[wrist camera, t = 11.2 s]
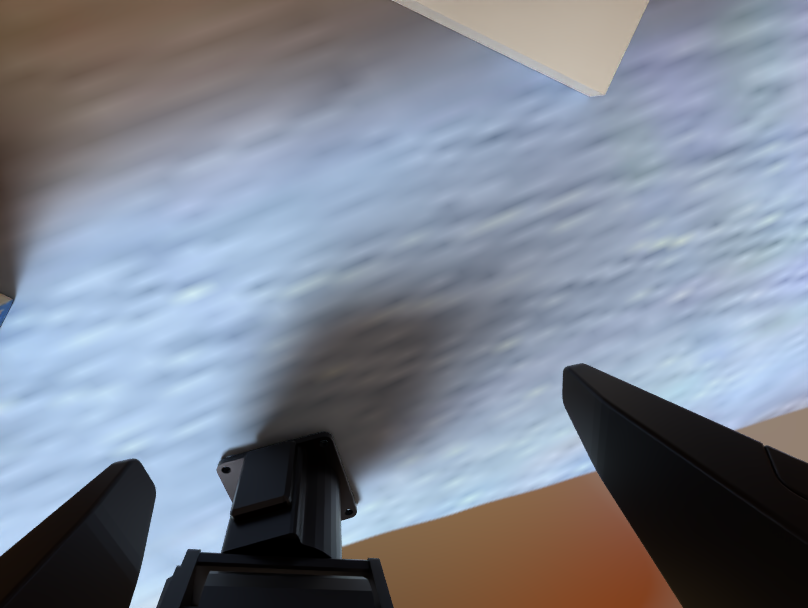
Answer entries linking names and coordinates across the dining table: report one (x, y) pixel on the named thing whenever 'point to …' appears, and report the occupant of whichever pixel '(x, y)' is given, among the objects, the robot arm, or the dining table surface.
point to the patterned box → (4, 306)
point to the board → (547, 33)
